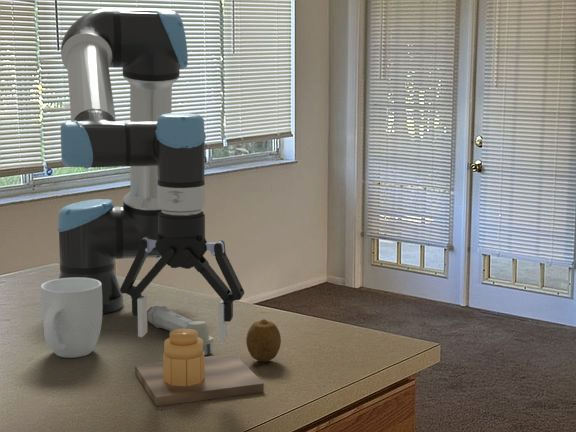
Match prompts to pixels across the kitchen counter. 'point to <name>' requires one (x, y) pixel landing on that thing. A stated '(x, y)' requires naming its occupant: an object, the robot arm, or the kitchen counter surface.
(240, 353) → the kitchen counter surface
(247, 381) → the post board
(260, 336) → the fruit
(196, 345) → the acorn cap nut
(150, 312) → the electric scrub brush
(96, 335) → the mug
